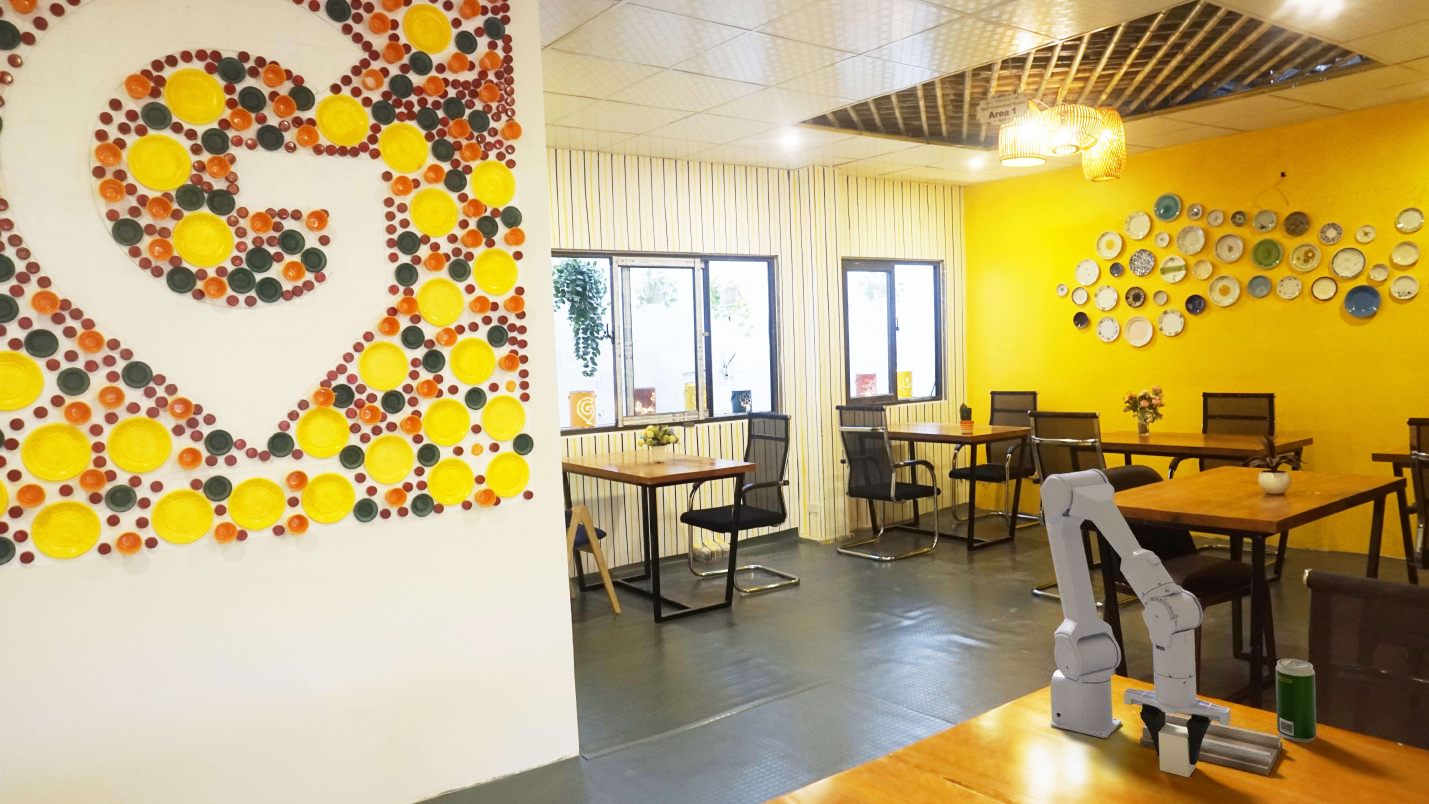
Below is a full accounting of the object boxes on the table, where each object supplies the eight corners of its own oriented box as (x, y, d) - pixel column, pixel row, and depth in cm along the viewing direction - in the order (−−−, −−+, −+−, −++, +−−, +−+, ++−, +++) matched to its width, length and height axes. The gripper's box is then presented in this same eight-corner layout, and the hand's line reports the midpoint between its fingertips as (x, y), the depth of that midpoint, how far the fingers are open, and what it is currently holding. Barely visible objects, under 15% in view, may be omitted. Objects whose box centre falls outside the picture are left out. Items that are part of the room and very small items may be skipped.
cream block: (1160, 770, 137) (1158, 731, 136) (1167, 760, 140) (1166, 722, 139) (1188, 777, 134) (1187, 738, 134) (1195, 766, 137) (1194, 728, 137)
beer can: (1307, 746, 141) (1305, 672, 141) (1271, 735, 146) (1268, 663, 145) (1322, 736, 144) (1321, 664, 144) (1286, 726, 149) (1284, 655, 148)
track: (1139, 745, 145) (1139, 730, 145) (1160, 721, 153) (1159, 707, 153) (1267, 775, 133) (1267, 758, 133) (1282, 748, 141) (1281, 732, 141)
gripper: (1116, 670, 138) (1119, 755, 139) (1221, 689, 128) (1224, 781, 129) (1130, 657, 143) (1134, 739, 144) (1232, 674, 133) (1235, 762, 134)
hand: (1177, 758), depth 137 cm, fingers closed on cream block, 4 cm apart
